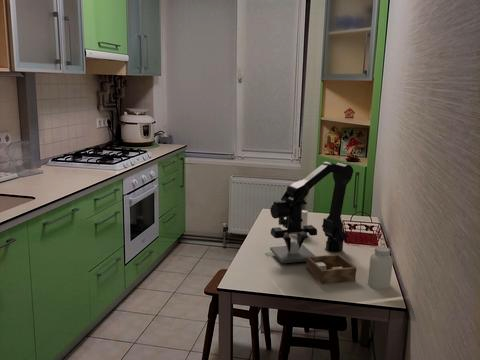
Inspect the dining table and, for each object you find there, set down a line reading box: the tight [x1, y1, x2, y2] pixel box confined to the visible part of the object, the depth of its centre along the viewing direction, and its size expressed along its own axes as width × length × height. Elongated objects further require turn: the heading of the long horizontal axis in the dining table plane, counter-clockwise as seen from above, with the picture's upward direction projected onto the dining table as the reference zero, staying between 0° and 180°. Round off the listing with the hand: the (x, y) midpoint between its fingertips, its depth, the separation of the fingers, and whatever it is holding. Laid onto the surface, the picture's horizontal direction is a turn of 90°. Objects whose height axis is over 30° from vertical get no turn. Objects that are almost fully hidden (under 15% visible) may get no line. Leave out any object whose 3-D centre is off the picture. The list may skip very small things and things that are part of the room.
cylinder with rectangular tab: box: [289, 209, 309, 238], centre depth 229 cm, size 9×9×12 cm
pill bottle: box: [367, 245, 394, 290], centre depth 172 cm, size 8×8×15 cm
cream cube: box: [316, 262, 326, 270], centre depth 183 cm, size 4×4×4 cm
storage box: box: [305, 253, 357, 285], centre depth 181 cm, size 14×14×6 cm
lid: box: [269, 240, 316, 264], centre depth 196 cm, size 15×15×5 cm
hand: (293, 250), depth 196 cm, fingers closed on lid, 3 cm apart
